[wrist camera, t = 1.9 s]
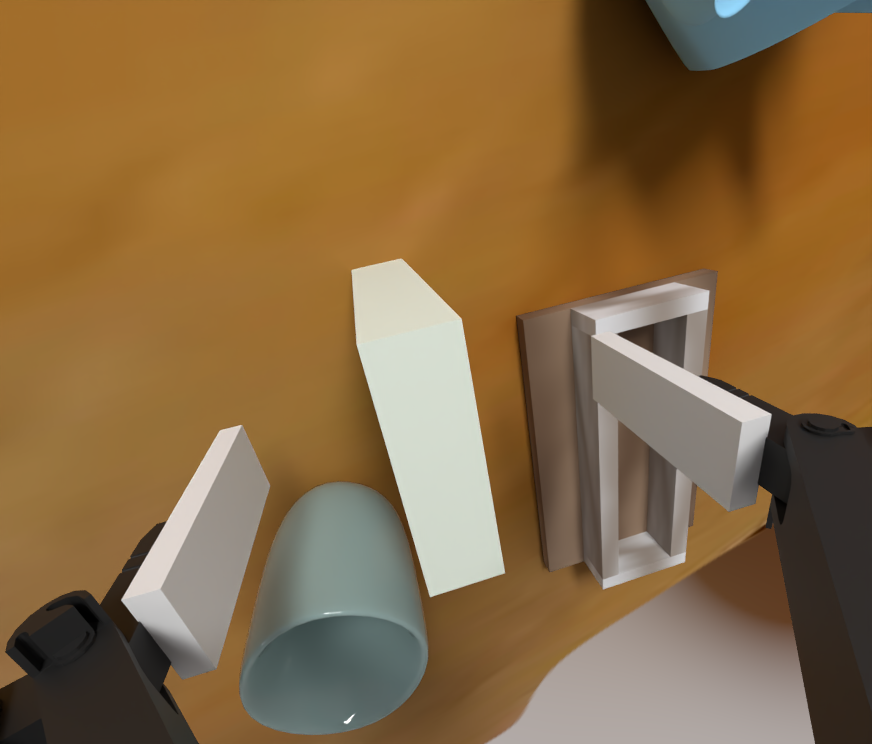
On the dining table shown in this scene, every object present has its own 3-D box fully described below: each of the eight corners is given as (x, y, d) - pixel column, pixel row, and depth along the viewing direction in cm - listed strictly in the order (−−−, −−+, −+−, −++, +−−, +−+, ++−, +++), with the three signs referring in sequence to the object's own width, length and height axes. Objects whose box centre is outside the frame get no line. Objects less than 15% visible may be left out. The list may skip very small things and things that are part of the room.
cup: (420, 478, 26) (459, 624, 17) (375, 567, 28) (388, 739, 19) (300, 446, 24) (270, 597, 15) (260, 547, 26) (212, 734, 17)
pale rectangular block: (392, 420, 24) (430, 597, 13) (351, 269, 20) (356, 345, 10) (438, 408, 24) (510, 571, 14) (405, 257, 21) (469, 316, 10)
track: (543, 561, 31) (566, 601, 28) (516, 315, 23) (543, 333, 20) (683, 516, 33) (719, 550, 30) (703, 268, 24) (757, 278, 21)
